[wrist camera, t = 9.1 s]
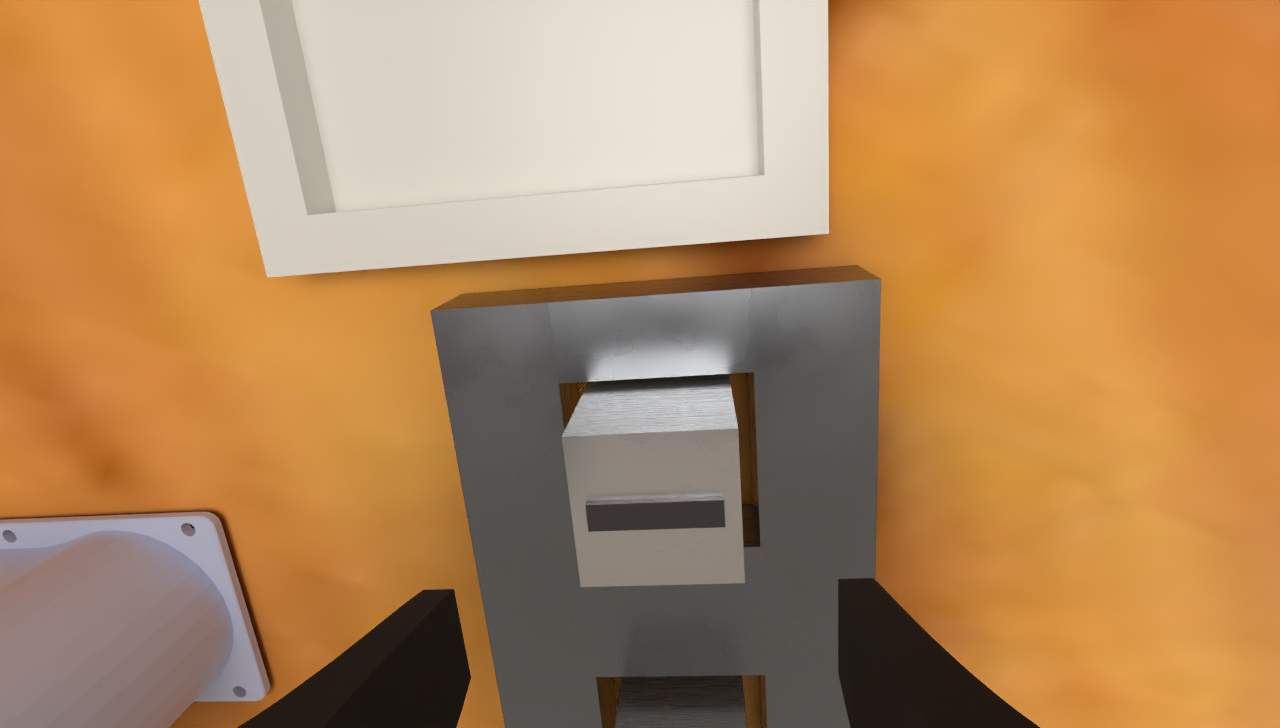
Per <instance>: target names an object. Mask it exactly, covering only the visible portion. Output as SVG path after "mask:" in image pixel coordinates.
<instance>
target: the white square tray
mask: <svg viewBox="0 0 1280 728" xmlns="http://www.w3.org/2000/svg"><path fill="white" fill-rule="evenodd" d="M199 4H200V8H201V12H202V16H203V20H204V24H205V28H206V32H207V36H208V40H209V45H210V49H211V53H212V57H213V61H214V65H215V69H216V73H217V77H218V81H219V85H220V89H221V93H222V97H223V101H224V105H225V109H226V113H227V117H228V121H229V125H230V129H231V133H232V137H233V141H234V145H235V149H236V153H237V157H238V161H239V165H240V169H241V173H242V177H243V181H244V186H245V190H246V194H247V198H248V202H249V206H250V210H251V214H252V218H253V222H254V226H255V230H256V234H257V238H258V242H259V246H260V250H261V254H262V258H263V262H264V266H265V270H266V274H267V277H278V276H291V275H304V274H317V273H330V272H342V271H355V270H368V269H381V268H394V267H407V266H419V265H432V264H445V263H458V262H471V261H484V260H496V259H509V258H522V257H535V256H548V255H561V254H573V253H586V252H599V251H612V250H625V249H638V248H651V247H663V246H676V245H689V244H702V243H715V242H728V241H740V240H753V239H766V238H779V237H792V236H805V235H817V234H829V147H828V0H199Z"/></svg>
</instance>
